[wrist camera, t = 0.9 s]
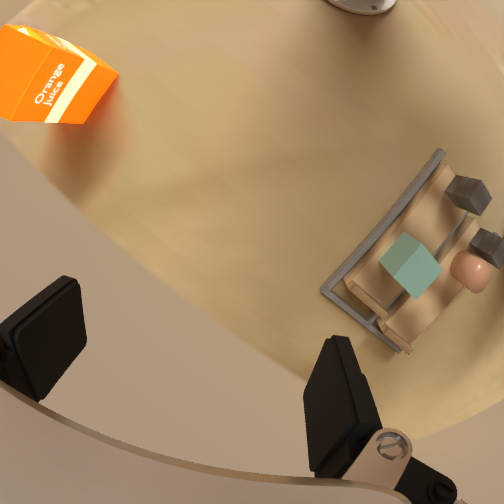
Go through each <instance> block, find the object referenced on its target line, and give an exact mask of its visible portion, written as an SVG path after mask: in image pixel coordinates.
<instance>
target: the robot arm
mask: <svg viewBox="0 0 504 504" xmlns="http://www.w3.org/2000/svg"><path fill="white" fill-rule="evenodd" d="M327 1H329V2H330V3H332V4H333V5H335V6H337V7H339V8H341V9H344V10H346V11H349V12H353V13H356V14H363V15H376V14H381V13H384V12H386V11H387V10H389V9H390V8H391V7H392V6H393V5H394V4H395V2H396V0H327ZM86 343H87V336H86V330H85V323H84V316H83V307H82V299H81V288H80V285H79V284H78V282H77V280H76V279H74V278H71V277H68V276H65V275H64V276H61V277H60V278H58V279H57V280H56V281H54V282H53V283H52V284H50V285H49V286H47V287H46V288H45V289H43V290H42V291H41V292H40V293H38V294H37V295H36V296H34V297H33V298H32V299H30V300H29V301H28V302H27V303H25V304H24V305H23V306H21V307H20V308H19V309H18V310H16V311H15V312H14V313H13V314H11V315H10V316H9V317H8V318H7V319H5V320H4V321H3V322H2V323H1V324H0V504H467V503H465V502H464V501H463V500H462V499H461V500H459V501H458V500H457V499H456V498H457V489H456V486H455V484H454V483H453V481H452V480H451V479H449V478H448V477H446V476H444V475H443V474H441V473H439V472H437V471H435V470H434V469H432V468H430V467H428V466H427V465H425V464H424V463H422V462H420V461H419V460H417V459H415V458H414V457H412V456H411V455H412V451H413V449H412V444H411V441H410V439H409V438H408V437H407V436H406V435H405V434H404V433H402V432H401V431H399V430H396V429H392V428H384V429H383V427H382V424H381V421H380V418H379V415H378V411H377V408H376V405H375V403H374V400H373V397H372V394H371V391H370V388H369V385H368V382H367V379H366V377H365V375H364V374H362V373H361V370H360V367H359V364H358V361H357V359H356V356H355V353H354V350H353V348H352V345H351V342H350V340H349V338H348V337H344V336H337V335H333V336H332V337H331V338H330V339H329V338H327V339H326V340H325V342H324V345H323V347H322V350H321V352H320V355H319V357H318V360H317V362H316V364H315V367H314V369H313V371H312V374H311V376H310V378H309V381H308V383H307V385H306V388H305V390H304V395H303V401H304V411H305V422H306V433H307V444H308V456H309V468H310V471H312V472H314V473H315V478H310V477H292V476H279V475H268V474H258V473H251V472H243V471H236V470H230V469H223V468H218V467H213V466H207V465H203V464H198V463H193V462H189V461H185V460H181V459H177V458H173V457H169V456H166V455H162V454H159V453H155V452H152V451H148V450H145V449H142V448H139V447H136V446H133V445H130V444H127V443H125V442H122V441H119V440H116V439H114V438H111V437H108V436H106V435H103V434H101V433H99V432H96V431H94V430H92V429H89V428H87V427H85V426H82V425H80V424H78V423H76V422H74V421H72V420H70V419H67V418H65V417H63V416H61V415H59V414H57V413H56V412H54V411H52V410H50V409H48V408H46V407H44V406H42V405H41V404H39V403H38V402H39V401H40V400H43V399H44V398H45V397H46V396H47V395H48V393H49V392H50V391H51V389H52V388H53V386H54V385H55V384H56V383H57V381H58V380H59V379H60V377H61V376H62V375H63V374H64V372H65V371H66V370H67V368H68V367H69V366H70V365H71V363H72V362H73V361H74V360H75V358H76V357H77V356H78V355H79V353H80V352H81V351H82V350H83V349H84V347H85V346H86Z"/></svg>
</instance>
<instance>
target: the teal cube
mask: <svg viewBox="0 0 504 504" xmlns="http://www.w3.org/2000/svg"><path fill="white" fill-rule="evenodd" d="M378 261H379V262H380V263H381V264H382V265H383V266H384V268H385V269H386V270H387V271H388V272H389V273H390V274H391V275H392V276H393V277H394V278H395V279H396V280H397V281H398V282H399V283H400V284H401V285H402V286H403V287H404V288H405V289H406V290H407V291H408V293H409V294H410V295H411V296H412V297H413V298H414V299H415V300H417V299H418V298H419V297H420V295H421V294H422V293H423V292H424V291H425V290H426V289H427V288H428V287H429V285H430V284H431V283H432V282H433V281H434V280H435V279H436V277H437V276H438V275H439V274H440V273H441V272H442V270H443V269H442V267H441V266H440V265H439V264H438V262H437V261H436V260H435V259H434V257H433V256H432V255H431V254H430V252H429V251H428V250H427V249H426V248H425V247H424V245H423V244H422V243H420V242H419V241H418V240H416V239H414V238H413V237H411V236H410V235H408V234H407V233H405V232H403V233H402V234H401V235H400V237H399V238H398V239H397V240H396V241H395V242H394V244H393V245H392V246H391V247H390V248H389V249H388V250H387V252H386V253H385V254H384V255H383V256H382V257H381V258H380V259H379V260H378Z"/></svg>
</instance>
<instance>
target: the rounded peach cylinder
mask: <svg viewBox="0 0 504 504" xmlns="http://www.w3.org/2000/svg"><path fill="white" fill-rule="evenodd" d="M450 271H451V274H452V276H453V277H454V278H455V279H457V280H458V281H459V282H460V283H462V284H463V285H464V286H465V287H466V288H468V289H469V290H470V291H471V292H473V293H479V292H481V291H483V290H484V289H485V288H486V286H487V285H488V283H489V281H490V278H491V267H490V265H489V264H488V263H486V262H485V261H483V260H482V259H480V258H478V257H477V256H475V255H474V254H472V253H470V252H469V251H467V250H462V251H460V252H458V253H457V254H456V255H455V256H454V258H453V260H452V262H451V267H450Z"/></svg>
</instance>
